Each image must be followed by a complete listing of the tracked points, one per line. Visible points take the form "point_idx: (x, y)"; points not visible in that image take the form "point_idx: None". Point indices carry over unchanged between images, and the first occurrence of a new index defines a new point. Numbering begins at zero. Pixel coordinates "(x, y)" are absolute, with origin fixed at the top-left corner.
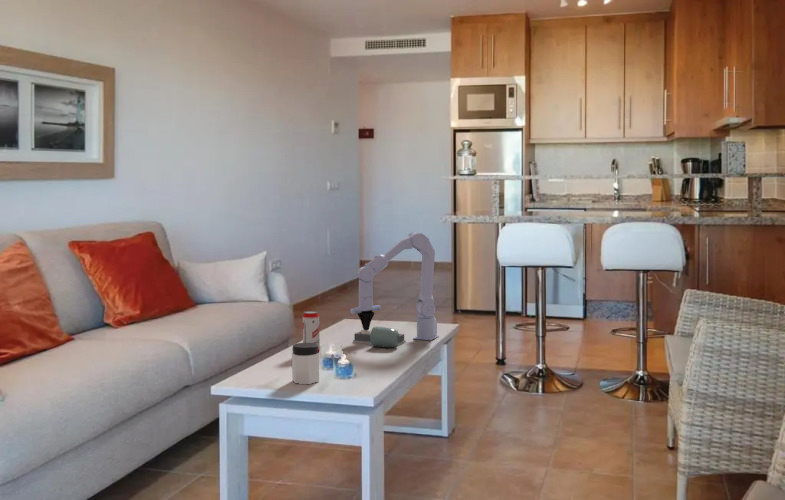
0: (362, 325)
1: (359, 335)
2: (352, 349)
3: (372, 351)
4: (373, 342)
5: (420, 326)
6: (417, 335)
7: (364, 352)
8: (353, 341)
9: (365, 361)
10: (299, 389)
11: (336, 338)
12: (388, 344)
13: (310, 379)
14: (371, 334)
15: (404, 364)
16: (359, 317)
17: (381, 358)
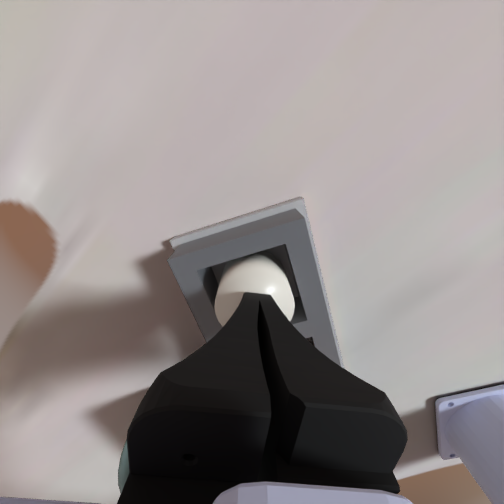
0: (237, 307)
1: (187, 291)
2: (63, 353)
3: (117, 425)
4: None
5: (500, 502)
6: (464, 422)
7: (77, 417)
8: (173, 241)
9: (3, 488)
10: None
11: (167, 29)
12: None
13: None
14: (121, 467)
15: None
16: (196, 353)
17: (76, 494)
